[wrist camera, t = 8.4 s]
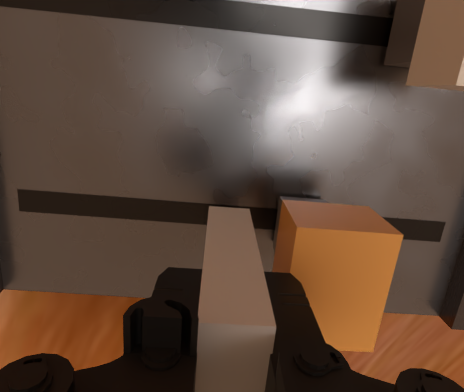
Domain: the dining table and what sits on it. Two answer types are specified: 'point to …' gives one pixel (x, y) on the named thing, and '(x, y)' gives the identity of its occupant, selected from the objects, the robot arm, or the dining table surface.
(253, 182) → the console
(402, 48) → the block
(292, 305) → the robot arm
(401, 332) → the dining table surface
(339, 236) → the orange fader
